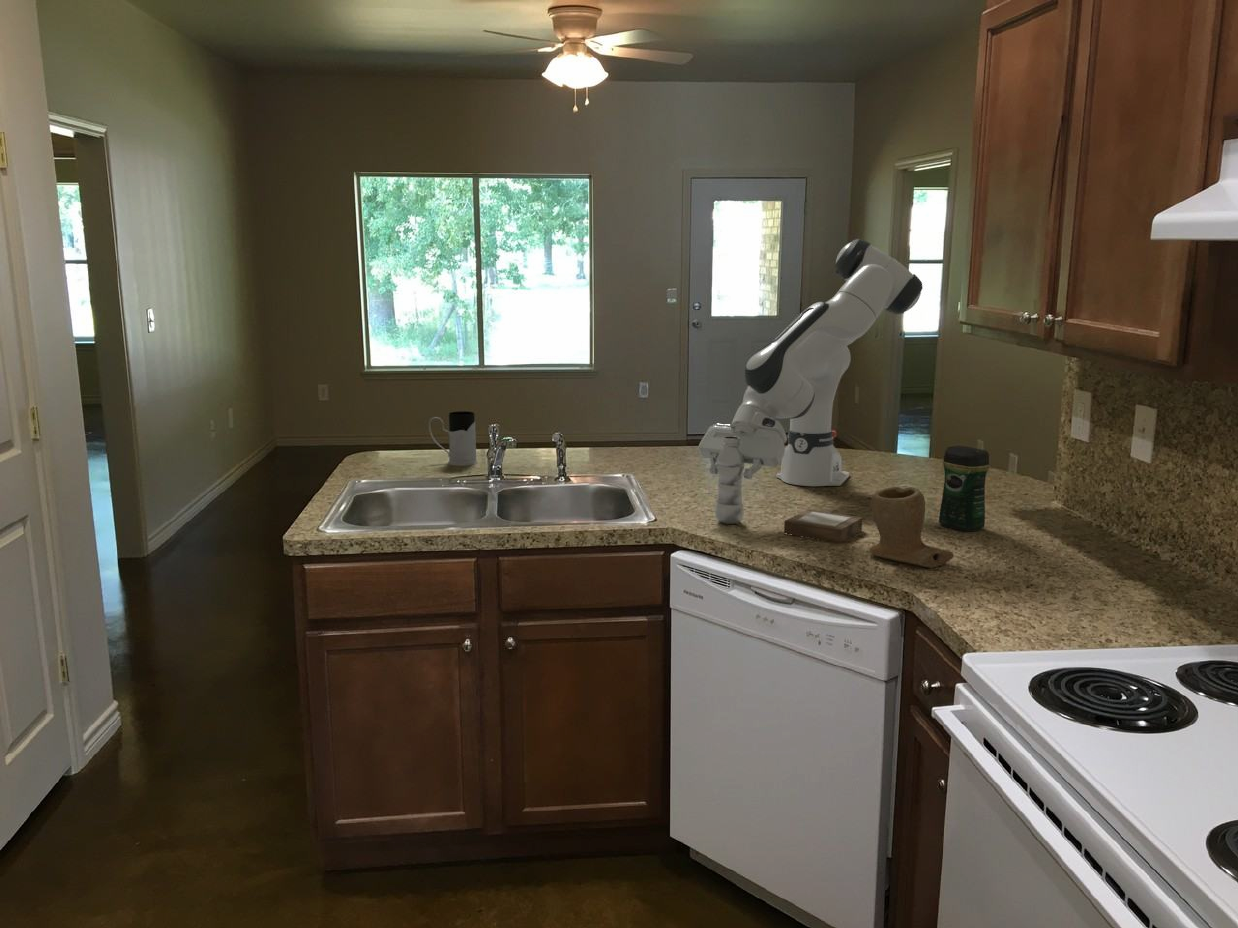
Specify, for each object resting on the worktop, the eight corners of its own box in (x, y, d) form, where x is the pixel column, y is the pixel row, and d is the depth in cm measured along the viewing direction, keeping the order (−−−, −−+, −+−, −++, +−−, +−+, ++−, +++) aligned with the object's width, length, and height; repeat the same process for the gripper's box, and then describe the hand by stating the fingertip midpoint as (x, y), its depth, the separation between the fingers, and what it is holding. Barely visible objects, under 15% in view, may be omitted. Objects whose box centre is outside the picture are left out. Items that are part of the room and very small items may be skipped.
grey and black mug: (475, 465, 287) (474, 415, 284) (427, 465, 287) (425, 415, 284) (479, 460, 295) (478, 411, 292) (433, 459, 295) (431, 410, 292)
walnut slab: (807, 521, 226) (808, 508, 225) (861, 530, 219) (862, 516, 218) (784, 534, 216) (784, 520, 215) (839, 543, 208) (840, 529, 208)
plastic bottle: (725, 528, 220) (727, 441, 216) (709, 521, 226) (711, 436, 222) (749, 524, 223) (751, 438, 219) (732, 517, 229) (734, 434, 225)
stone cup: (855, 558, 198) (859, 486, 195) (889, 548, 206) (894, 478, 203) (920, 576, 187) (926, 500, 184) (954, 564, 194) (960, 491, 191)
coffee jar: (990, 529, 221) (997, 448, 217) (967, 534, 217) (974, 452, 213) (955, 519, 229) (961, 442, 225) (932, 524, 225) (938, 445, 221)
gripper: (707, 414, 231) (685, 461, 225) (786, 423, 220) (765, 472, 214) (715, 430, 236) (694, 477, 230) (793, 439, 225) (773, 488, 219)
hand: (729, 475), depth 222 cm, fingers open, 7 cm apart
